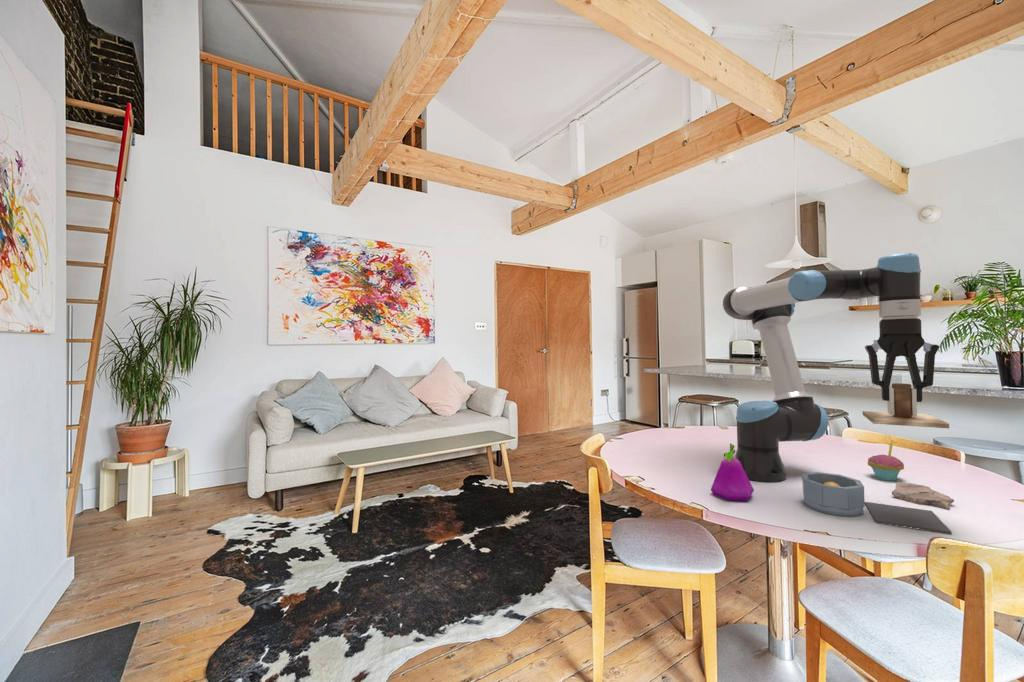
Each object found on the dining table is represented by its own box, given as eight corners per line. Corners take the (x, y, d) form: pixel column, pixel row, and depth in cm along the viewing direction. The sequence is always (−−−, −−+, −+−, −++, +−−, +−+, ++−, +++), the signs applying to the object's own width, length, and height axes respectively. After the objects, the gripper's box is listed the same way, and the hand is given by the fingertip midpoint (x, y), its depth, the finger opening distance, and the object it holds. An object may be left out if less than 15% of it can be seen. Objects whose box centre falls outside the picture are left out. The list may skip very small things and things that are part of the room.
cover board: (873, 423, 101) (872, 385, 101) (862, 414, 112) (861, 380, 112) (949, 428, 94) (948, 387, 94) (929, 418, 105) (929, 382, 105)
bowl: (805, 510, 108) (804, 483, 108) (801, 495, 119) (801, 470, 119) (867, 520, 102) (867, 491, 102) (858, 502, 113) (857, 476, 113)
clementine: (822, 500, 110) (822, 483, 110) (820, 494, 114) (820, 478, 114) (844, 503, 108) (843, 486, 108) (841, 497, 111) (841, 481, 111)
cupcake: (890, 474, 135) (889, 436, 135) (912, 483, 126) (911, 442, 126) (861, 473, 136) (860, 436, 136) (881, 482, 127) (880, 442, 127)
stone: (955, 500, 114) (955, 490, 114) (952, 512, 106) (952, 501, 106) (897, 489, 123) (897, 479, 123) (890, 500, 115) (890, 489, 115)
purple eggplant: (703, 490, 125) (702, 439, 125) (738, 488, 126) (737, 437, 126) (725, 504, 114) (724, 448, 114) (764, 502, 115) (762, 447, 115)
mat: (875, 522, 101) (875, 520, 101) (864, 503, 112) (864, 501, 112) (951, 534, 94) (951, 531, 94) (931, 513, 105) (931, 510, 105)
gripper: (859, 319, 104) (861, 414, 104) (952, 316, 95) (955, 420, 95) (853, 320, 110) (856, 410, 110) (940, 317, 102) (943, 414, 102)
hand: (901, 414), depth 103 cm, fingers closed on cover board, 3 cm apart
